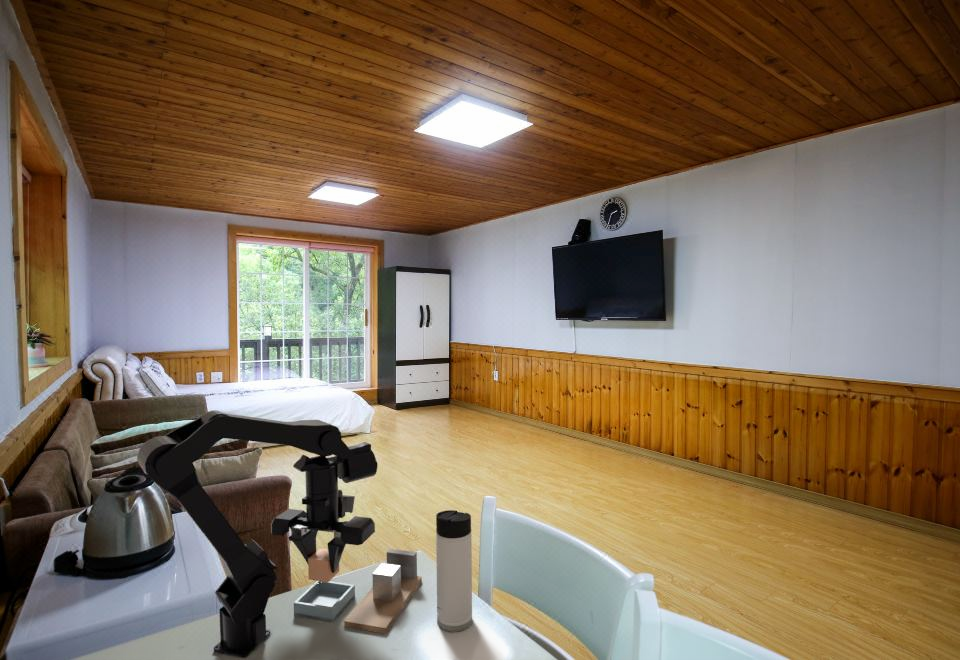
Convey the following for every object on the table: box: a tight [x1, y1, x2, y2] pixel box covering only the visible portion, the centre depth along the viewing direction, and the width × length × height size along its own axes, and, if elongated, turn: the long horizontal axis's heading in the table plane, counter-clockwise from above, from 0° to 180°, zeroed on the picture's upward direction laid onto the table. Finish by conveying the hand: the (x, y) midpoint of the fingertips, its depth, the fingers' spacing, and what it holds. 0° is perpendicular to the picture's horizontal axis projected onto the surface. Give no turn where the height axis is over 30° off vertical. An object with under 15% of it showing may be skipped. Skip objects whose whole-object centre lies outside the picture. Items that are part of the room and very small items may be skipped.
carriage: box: [372, 562, 401, 602], centre depth 98 cm, size 4×4×5 cm
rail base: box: [343, 548, 423, 635], centre depth 97 cm, size 8×17×6 cm, turn 165°
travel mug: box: [435, 509, 473, 633], centre depth 91 cm, size 6×7×20 cm
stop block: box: [307, 547, 340, 582], centre depth 96 cm, size 4×4×4 cm
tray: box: [293, 580, 356, 624], centre depth 96 cm, size 8×8×2 cm
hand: (323, 570), depth 96 cm, fingers closed on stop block, 4 cm apart
